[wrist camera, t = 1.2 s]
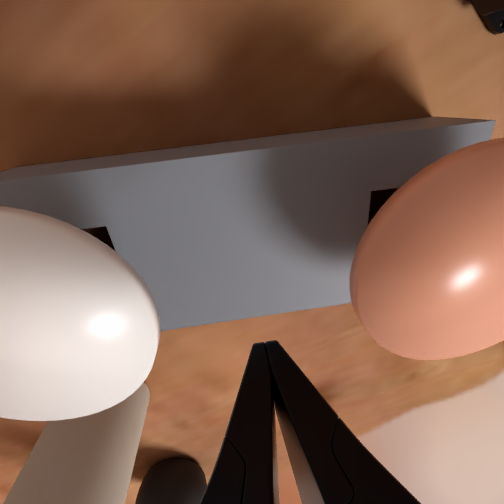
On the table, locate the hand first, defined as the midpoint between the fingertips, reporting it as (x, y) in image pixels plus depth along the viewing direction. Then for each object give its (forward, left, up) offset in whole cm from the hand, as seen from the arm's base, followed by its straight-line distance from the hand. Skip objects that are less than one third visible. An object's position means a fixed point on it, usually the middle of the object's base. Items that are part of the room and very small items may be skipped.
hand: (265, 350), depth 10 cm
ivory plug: (+7, -7, -9) cm, 13 cm away
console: (0, 0, -13) cm, 13 cm away
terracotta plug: (-7, +7, -9) cm, 13 cm away
